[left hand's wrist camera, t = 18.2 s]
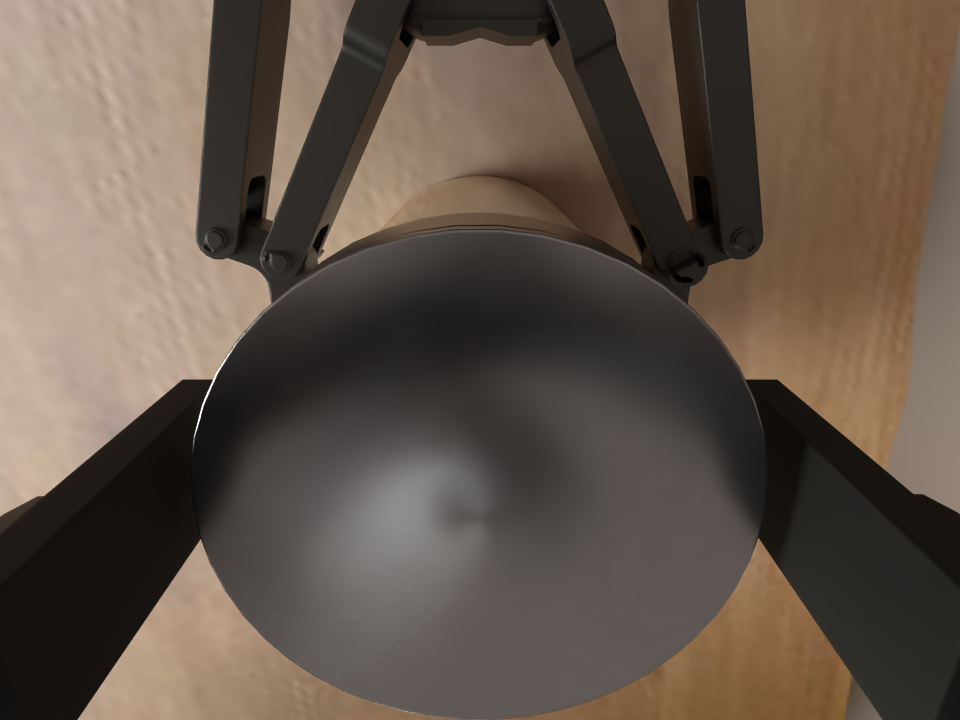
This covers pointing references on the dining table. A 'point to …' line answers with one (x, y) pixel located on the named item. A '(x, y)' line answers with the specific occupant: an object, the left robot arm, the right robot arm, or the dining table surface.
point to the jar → (479, 201)
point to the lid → (479, 469)
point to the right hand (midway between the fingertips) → (479, 451)
